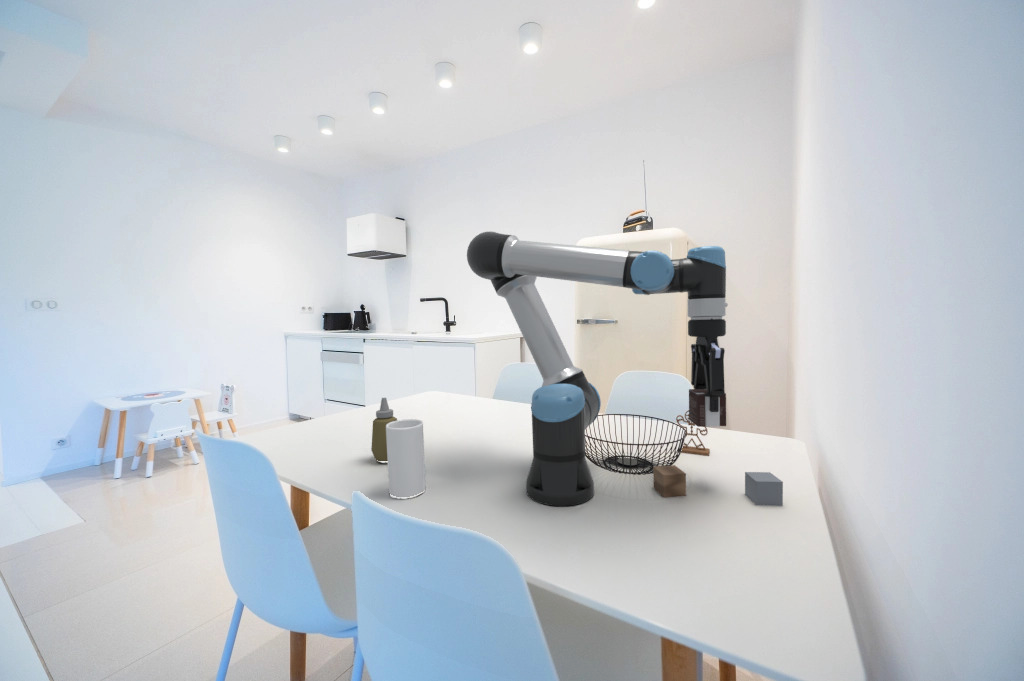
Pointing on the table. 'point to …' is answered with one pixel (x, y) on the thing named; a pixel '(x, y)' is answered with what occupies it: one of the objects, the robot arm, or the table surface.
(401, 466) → the cup
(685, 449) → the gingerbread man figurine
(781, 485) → the grey block
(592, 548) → the table surface
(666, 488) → the walnut block
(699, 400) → the box
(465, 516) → the table surface
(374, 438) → the squeeze bottle
